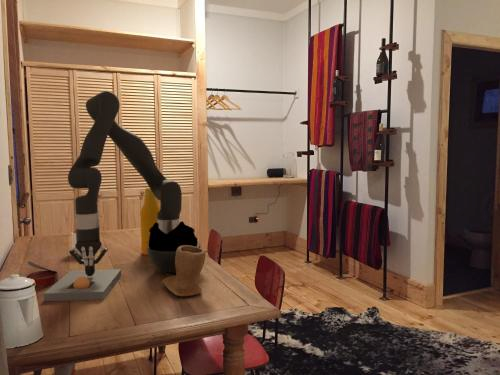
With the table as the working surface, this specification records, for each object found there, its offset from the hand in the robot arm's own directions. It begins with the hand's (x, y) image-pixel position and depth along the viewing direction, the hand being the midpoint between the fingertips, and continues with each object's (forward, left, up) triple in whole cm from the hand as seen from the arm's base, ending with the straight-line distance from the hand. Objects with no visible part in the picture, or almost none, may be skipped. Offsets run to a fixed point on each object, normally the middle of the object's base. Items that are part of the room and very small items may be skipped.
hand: (90, 275), depth 146 cm
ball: (+1, +7, -1) cm, 7 cm away
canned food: (+18, -4, -4) cm, 18 cm away
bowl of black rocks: (-27, -13, -3) cm, 30 cm away
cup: (+16, -44, -3) cm, 47 cm away
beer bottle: (-14, -42, -3) cm, 45 cm away
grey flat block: (+1, +3, -3) cm, 4 cm away
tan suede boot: (-33, +9, -4) cm, 35 cm away
